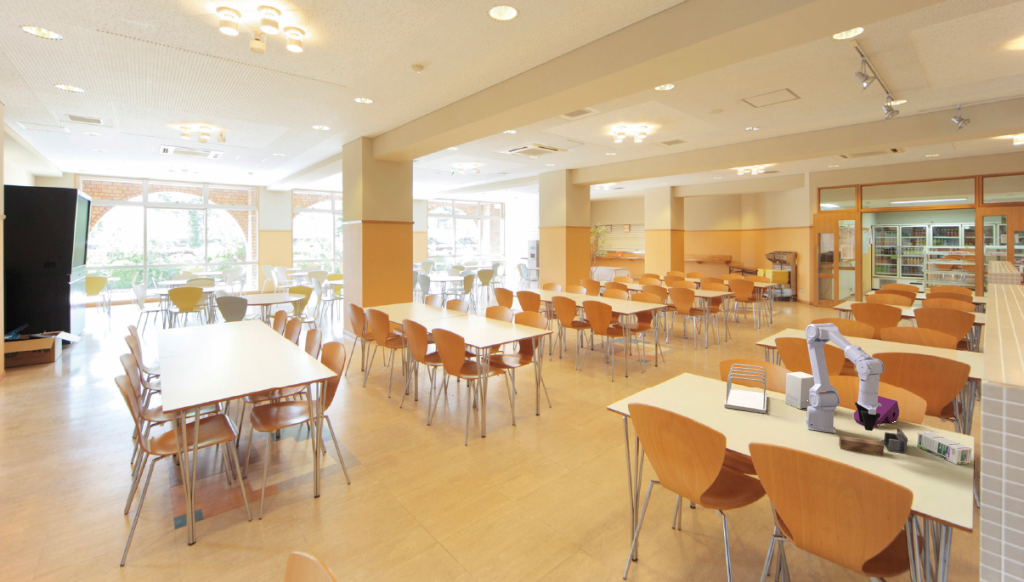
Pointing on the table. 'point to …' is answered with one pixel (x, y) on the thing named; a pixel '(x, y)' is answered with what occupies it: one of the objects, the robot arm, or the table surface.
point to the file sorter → (746, 393)
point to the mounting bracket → (883, 411)
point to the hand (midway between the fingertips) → (865, 426)
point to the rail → (861, 445)
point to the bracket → (895, 441)
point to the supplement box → (798, 389)
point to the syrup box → (944, 447)
